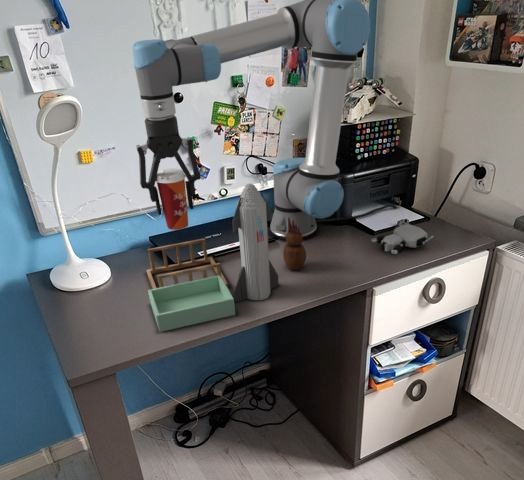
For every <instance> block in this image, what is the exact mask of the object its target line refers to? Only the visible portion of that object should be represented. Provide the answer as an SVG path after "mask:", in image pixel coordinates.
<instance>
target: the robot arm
mask: <svg viewBox="0 0 524 480" xmlns="http://www.w3.org/2000/svg"><path fill="white" fill-rule="evenodd" d="M370 34H371V18H370V15H369V12H368V10H367V9H366V7H365V5H364V3H362V2H361V1H360V0H301V1H298V2H295V3H293V4H290V5H286V6H283V7H280V8H279V9H278V10H277V12H276V13H274V14H271V15H267V16H262V17H259V18H256V19H251V20H247V21H244V22H240V23H237V24H232V25H229V26H225V27H221V28H217V29H213V30H210V31H206V32H202V33H197V34H195V35H191V36H187V37H183V38H179V39H166V40H163V39H158V38H157V39H155V38H154V39H144V40H139V41H136V42H135V43H133V44H132V59H133V67H134V70H135V75H136V81H137V86H138V90H139V96H140V103H141V109H142V114H143V117H144V118H145V120H144V125H145V131H146V136H147V139H146V143H143V144H141V145H140V144H137V145H136V146H135V149H136V151H137V153H138V159H139V160H138V162H139V164H138V165H139V166H138V167H139V184H140V187H141V189H142V190H143V189H145V190H146V189H147V190H148V193H149V198H150V200H151V202H152V203H155V207H156V212H157V214H158V216H161V215H162V213H163V212H162V206H161V201H160V195H159V190H158V187H157V185H156V177H157V172H159V169H160V168H159V167H160V164H161V160H165V159H166V158H170V159H172V158H175V160H176V162H177V164H178V166H179V167H180V170H182V171H183V173H184V174H185V176H186V177H185V178H186V179H187V180H185V189H186V199H187V205H188V207H189V209H190V210H194V209H195V208H194V202H193V196H195V195H196V187H195V183H196V181H200V179H201V178H202V177H201V173H200V169H199V165H198V163H197V159H196V156H195V151H194V140H193V139H192V138H191V137H187V138H184V137H181V135H180V132H179V124H178V118H177V116H176V115H175V114H176V112H177V111H176V105H175V98H174V97H175V96H174V91H173V90H174V89H173V87H178V86H183V85H191V84H198V83H208V82H210V81H216V80H217V79H218V78H219V77H220V76H221V71H222V64H224V63H229V62H232V61H235V60H238V59H239V60H240V59H242V58H246V57H249V56H250V57H251V56H253V55H257V54H260V53H264V52H268V51H272V50H274V49H279V48H284V49H286V50H291V49H294V48H311V55H310V56H311V57H310V58H311V60H312V61H313V63H314V64H315V73H314V81H313V91H312V98H311V106H310V115H309V125H308V132H307V142H306V149H305V157H291V158H284V159H281V160H278V161H276V162H275V163H274V165H273V168H272V169H273V170H272V178H273V197H274V198H273V199H274V211H273V215H272V217H271V221H270V226H269V229H270V230H269V231H270V234H271V236H272V237H274V238H276V239H279V240H283V241H286V234H287V233H288V217H289V219H290V222H291V226H292V220H294V226H295V225H297V228H299V230H300V232H301V233H302V237H303V240H305V239H309V238H311V237H313V236H314V235H316V233H317V228H318V225H317V224H319V223H327V222H328V223H329V222H338V221H346V220H353V219H358V218H363V217H366V216H368V215H369V216H370V215H371V214H373V213H374V212H378V211H382V210H385V209H387V208H393V209H397V208H398V207H397V205H395V204H391V203H390V204H386V205H383V206H380V207H377V208H374V209H372V210H369V211H367V212H365V213H362V214H357V215H352V216H346V217H347V218H343V217H336V218H337V219H335V218H330V217H331V216H332V215H334V213H335V212H337V211H338V210H339V209H340V207H341V205H342V204H343V202H344V197H345V191H344V188H343V185H341V183H340V182H339V177H340V168H339V167H338V166H337V164H336V161H337V154H338V148H339V142H340V136H341V135H340V134H341V127H342V120H343V115H344V106H345V100H346V94H347V93H346V92H347V86H348V81H349V80H348V79H349V71H350V69H351V67H352V66H354V65H355V64H356V63H357V59H358V53H359V52H361V51H362V50H363V48H364V46H366V44H367V42H368V41H369V37H370ZM182 145H183V147H184V148H185V149H186V152H187V156H188V159H189V162H190V166H191V169H192V170H191V171H192V173H193V174H191V172H190V171H189V169H188V167H187V165H186V164H185V161H184V160H183V159H182V157H181V155H180V153H179V150H180V147H181V146H182ZM148 150H149V151H151V152H152V153H153V156H152V162H151V167H150V172H149V177H148V180H147V163H146V155H147V153H148ZM155 185H156V186H155ZM317 219H318V220H317Z"/></svg>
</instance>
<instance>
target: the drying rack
mask: <svg viewBox="0 0 524 480" xmlns="http://www.w3.org/2000/svg"><path fill="white" fill-rule="evenodd" d="M206 241H207V240H206V238H199V239H193V240H189V241H183V242H179V243H172V244H168V245H163V246H158V247H157V246H156V247H152V248H147V253H148V259H149V263H150V268H149V269H146V270H145V271H146V274H147V278H148V280H149V283H150V287H151V289H155V288H157V286H156V283H155V280H154V277H153V274H154V275H155V274H158V275H157V281H158V285H159V288H160V287H165V286H164V282H163V279H166V278H171V277H172V279H173V283H174V284H179V279H178V276H180V275H185V274H187V275H188V277H187V278H188V282H189V281H194V278H193V273H196V272H200V271H202V275H203V276H202V277H203V278H208V274H207V270H210V269H213V270H214V272H215V274H216V276H217V275H220V276H221V278H222V280H223V281H224V283H225V285H226V287H227V288H228V289H229V283H228V282H227V281H228V280H227V279H226V278H225V276H224V275H223V273H222V267H221V262H216V261H215V260H214V258H213V256H209V257H208V251H207V250H208V249H207V243H206ZM196 244H202V253H203V258H200V259H195V253H194V247H193V245H196ZM185 246H188V247H189V255H190V260H189V261H184V262H182V258H181V252H180V251H181V250H180V247H185ZM169 249H175V252H176V259H177V263H174V264H170V265H169V262H168V256H167V250H169ZM159 251H161V252H162V258H163V263H164V266H159V267H156V266H155V262H154V257H153V253H154V252H159ZM209 263H210V264H209ZM204 264H206V265H204ZM198 265H201V266H198ZM193 266H196V267H193ZM189 267H191V268H189ZM184 268H186V269H184ZM179 269H180V270H179ZM181 269H182V270H181ZM174 270H176V271H174ZM169 271H172V272H169ZM164 272H168V273H164ZM159 273H161V274H159ZM203 278H202V279H203ZM174 284H173V285H174Z"/></svg>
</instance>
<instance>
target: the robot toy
mask: <svg viewBox="0 0 524 480" xmlns="http://www.w3.org/2000/svg"><path fill="white" fill-rule="evenodd" d="M407 223H408V222H404V223H403V224H402V225H400V226H397V227H395V228H394V230H393V232H392V234H389V235H386V236H384V235H379V236H378V235H377V236H376V237H374V238H371V242H372V243H373V244H375V243H377V244H380V249H381V250H383V251H384V252H391V254H392V255H397V254H400V253H401V251H402V249H403V248H404V247H407V248H413V249H416V248H419V247H421V246H424V245H426V244H427V242H429V241H430V240H431V239H433V238H434V235H431V236H430V237H429V238H428V233H427V232H426V231H425V230H424V229H422V228H421V227H419V226H416V225H413V224H407Z"/></svg>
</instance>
